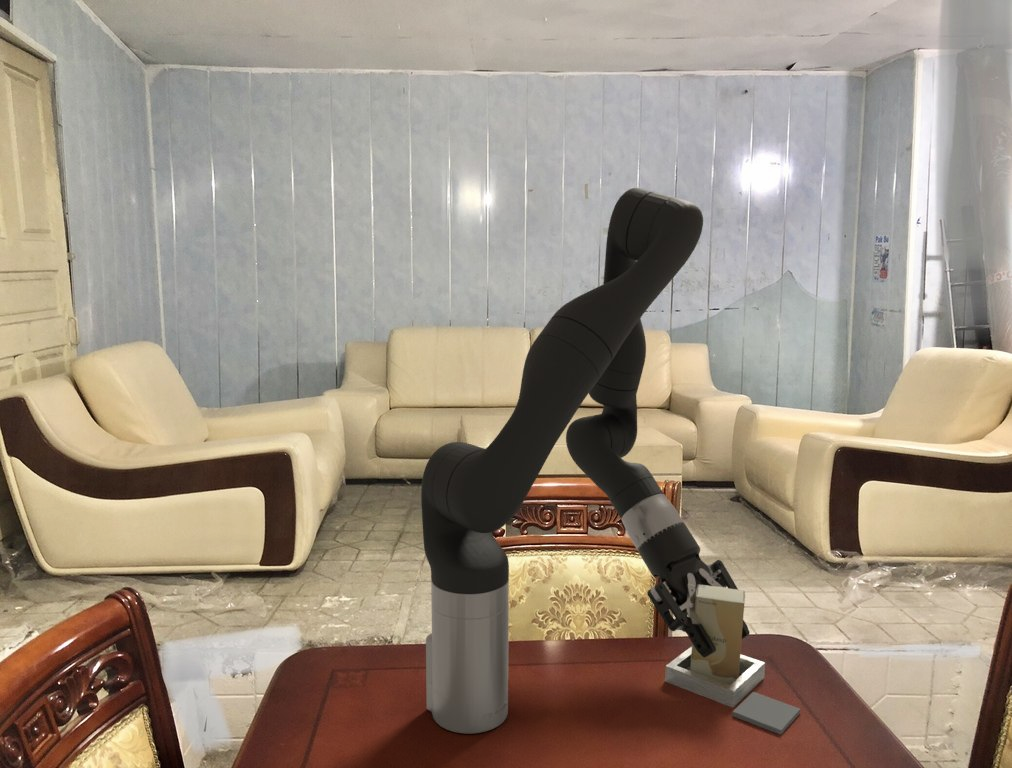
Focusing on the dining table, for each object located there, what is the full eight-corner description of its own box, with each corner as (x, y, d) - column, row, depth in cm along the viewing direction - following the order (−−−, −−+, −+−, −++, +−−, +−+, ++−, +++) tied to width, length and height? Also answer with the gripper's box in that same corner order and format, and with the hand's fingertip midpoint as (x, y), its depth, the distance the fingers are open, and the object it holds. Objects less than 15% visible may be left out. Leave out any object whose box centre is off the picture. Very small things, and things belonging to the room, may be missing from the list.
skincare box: (689, 684, 105) (692, 595, 103) (691, 668, 109) (695, 582, 107) (740, 692, 103) (745, 602, 101) (740, 675, 107) (745, 588, 105)
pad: (732, 715, 98) (732, 711, 98) (753, 696, 102) (753, 691, 102) (780, 734, 94) (781, 730, 94) (800, 713, 99) (800, 708, 98)
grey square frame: (665, 681, 106) (665, 665, 105) (698, 655, 113) (699, 640, 113) (733, 707, 100) (733, 691, 99) (764, 678, 107) (765, 662, 106)
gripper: (640, 532, 104) (711, 651, 97) (708, 511, 113) (778, 618, 106) (609, 559, 109) (675, 674, 102) (676, 537, 118) (741, 641, 111)
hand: (727, 645), depth 104 cm, fingers closed on skincare box, 6 cm apart
